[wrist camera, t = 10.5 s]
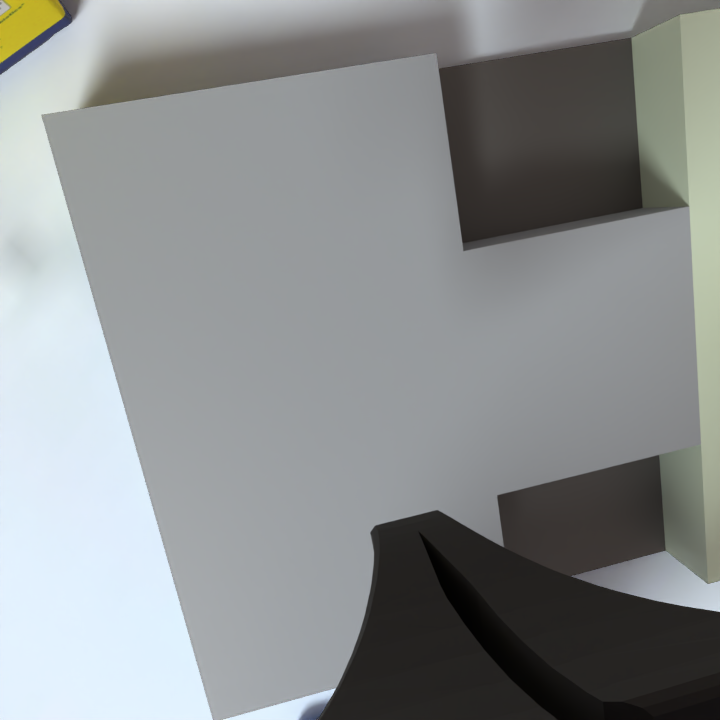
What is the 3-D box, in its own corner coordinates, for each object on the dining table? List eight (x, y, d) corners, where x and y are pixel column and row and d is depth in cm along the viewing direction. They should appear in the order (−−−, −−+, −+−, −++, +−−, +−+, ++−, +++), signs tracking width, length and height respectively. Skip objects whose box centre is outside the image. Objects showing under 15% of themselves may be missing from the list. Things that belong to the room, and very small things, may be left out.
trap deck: (868, 492, 25) (979, 541, 21) (217, 667, 22) (210, 761, 18) (878, -1, 21) (1020, -51, 17) (69, 129, 18) (19, 103, 14)
